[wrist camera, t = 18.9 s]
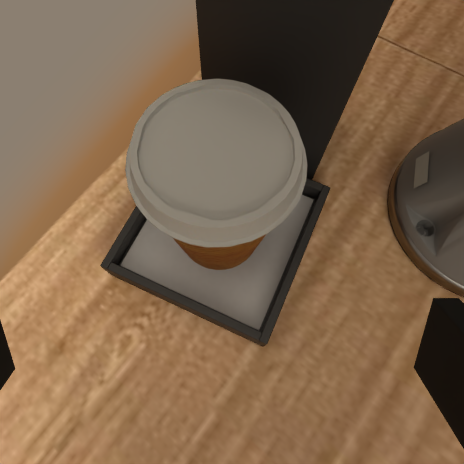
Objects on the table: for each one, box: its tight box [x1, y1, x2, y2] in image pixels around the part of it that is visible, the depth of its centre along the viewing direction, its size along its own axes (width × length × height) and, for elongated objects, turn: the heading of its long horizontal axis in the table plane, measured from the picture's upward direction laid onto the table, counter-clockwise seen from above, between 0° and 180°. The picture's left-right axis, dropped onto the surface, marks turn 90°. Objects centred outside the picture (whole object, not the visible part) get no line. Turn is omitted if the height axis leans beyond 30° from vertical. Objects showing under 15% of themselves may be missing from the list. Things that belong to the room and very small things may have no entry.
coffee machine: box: [101, 0, 394, 346], centre depth 20 cm, size 13×22×26 cm, turn 155°
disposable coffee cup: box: [125, 79, 307, 270], centre depth 24 cm, size 10×10×12 cm
